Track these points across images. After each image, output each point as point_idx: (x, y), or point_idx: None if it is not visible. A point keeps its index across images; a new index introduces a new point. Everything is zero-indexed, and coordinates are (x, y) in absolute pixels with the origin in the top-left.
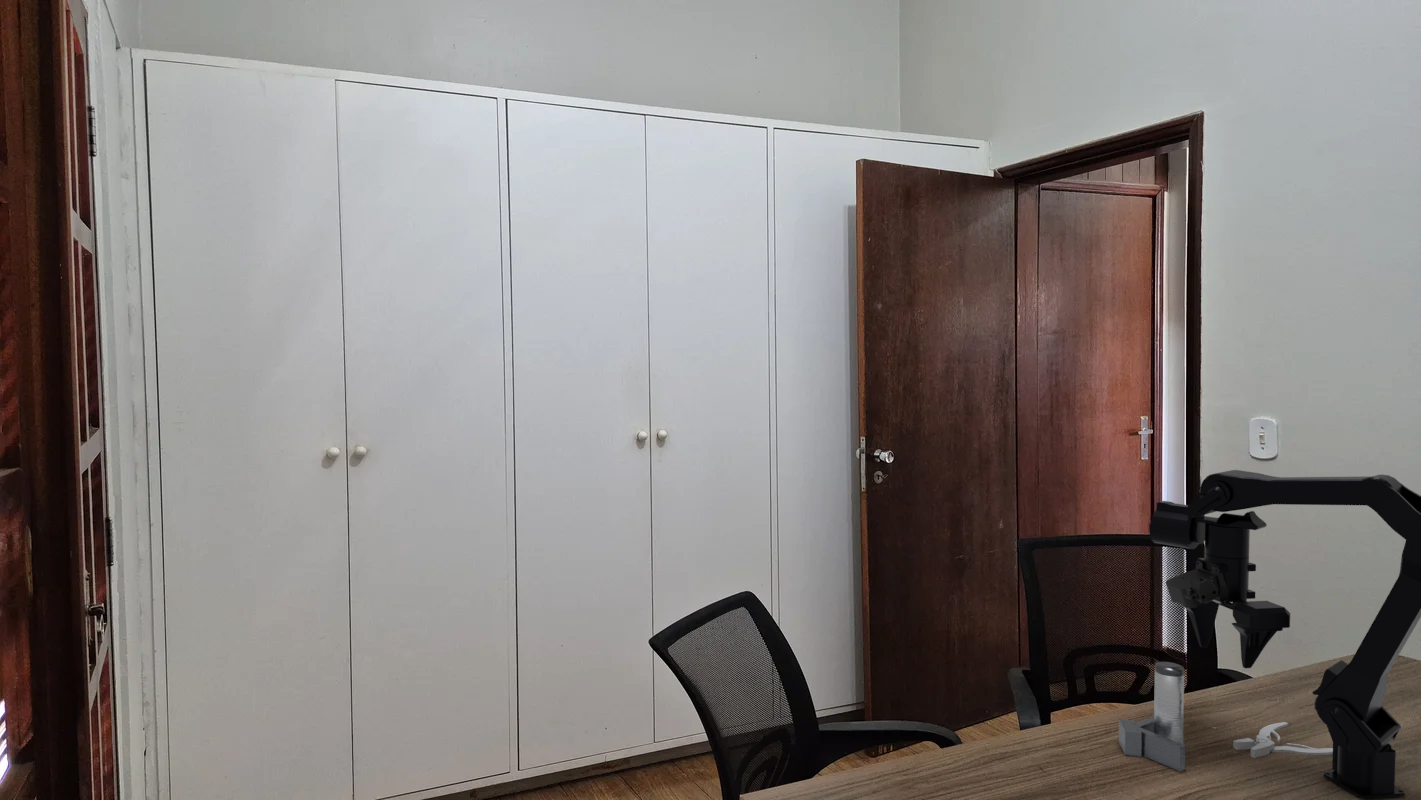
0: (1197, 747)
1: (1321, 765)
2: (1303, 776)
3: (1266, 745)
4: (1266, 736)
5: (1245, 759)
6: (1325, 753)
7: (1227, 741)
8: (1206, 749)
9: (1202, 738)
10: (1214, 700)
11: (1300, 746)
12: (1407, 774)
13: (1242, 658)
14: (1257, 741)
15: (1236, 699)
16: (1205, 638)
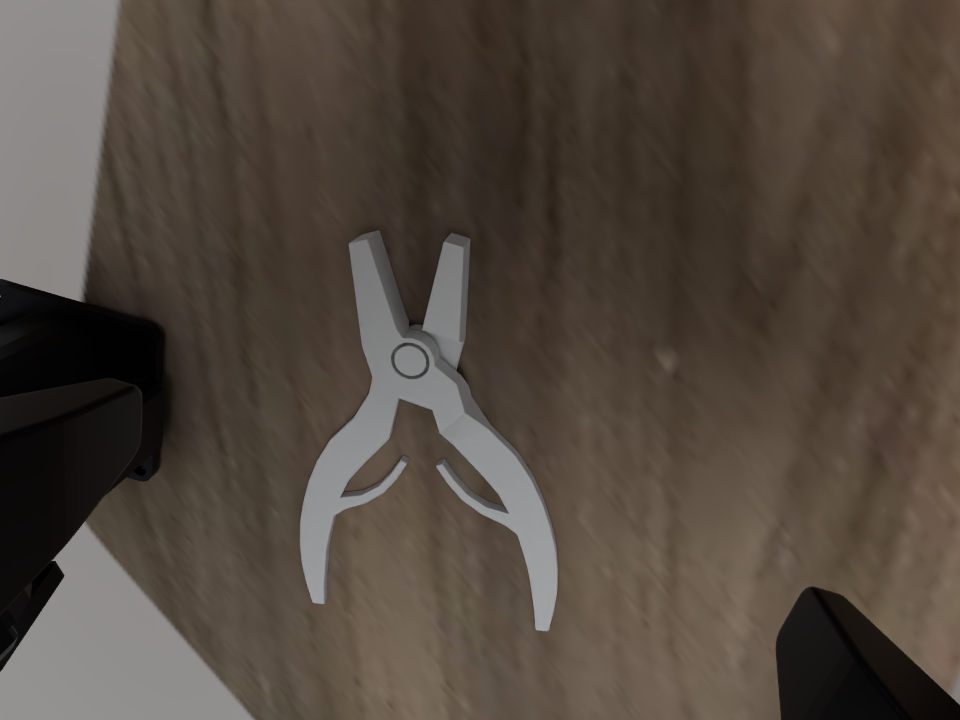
0: (542, 68)
1: (242, 412)
2: (182, 262)
3: (367, 332)
4: (435, 416)
5: (363, 180)
6: (304, 507)
7: (530, 276)
8: (507, 94)
9: (606, 192)
10: None
11: (375, 488)
12: (135, 578)
13: (40, 409)
14: (415, 339)
15: None
16: (813, 703)
